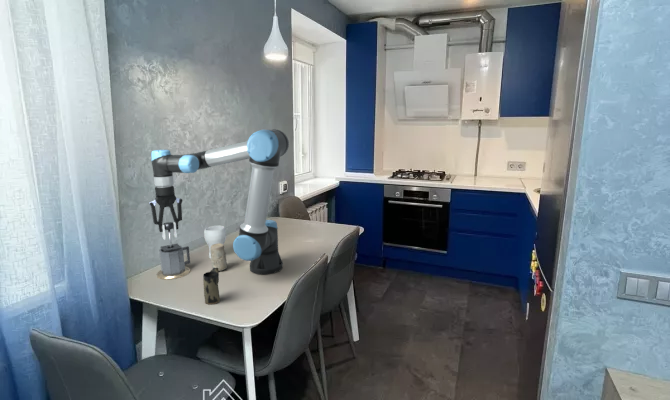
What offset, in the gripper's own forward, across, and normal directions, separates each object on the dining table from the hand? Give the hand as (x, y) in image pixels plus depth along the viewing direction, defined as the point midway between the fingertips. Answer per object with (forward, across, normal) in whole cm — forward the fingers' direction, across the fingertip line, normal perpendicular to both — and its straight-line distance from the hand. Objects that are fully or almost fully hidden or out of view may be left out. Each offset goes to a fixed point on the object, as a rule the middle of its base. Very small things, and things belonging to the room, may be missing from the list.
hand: (169, 237), depth 163 cm
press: (+17, 0, 0) cm, 17 cm away
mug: (+17, -6, +37) cm, 41 cm away
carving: (+17, -18, +9) cm, 26 cm away
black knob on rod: (+13, 0, 0) cm, 13 cm away
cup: (+17, -23, -9) cm, 30 cm away
